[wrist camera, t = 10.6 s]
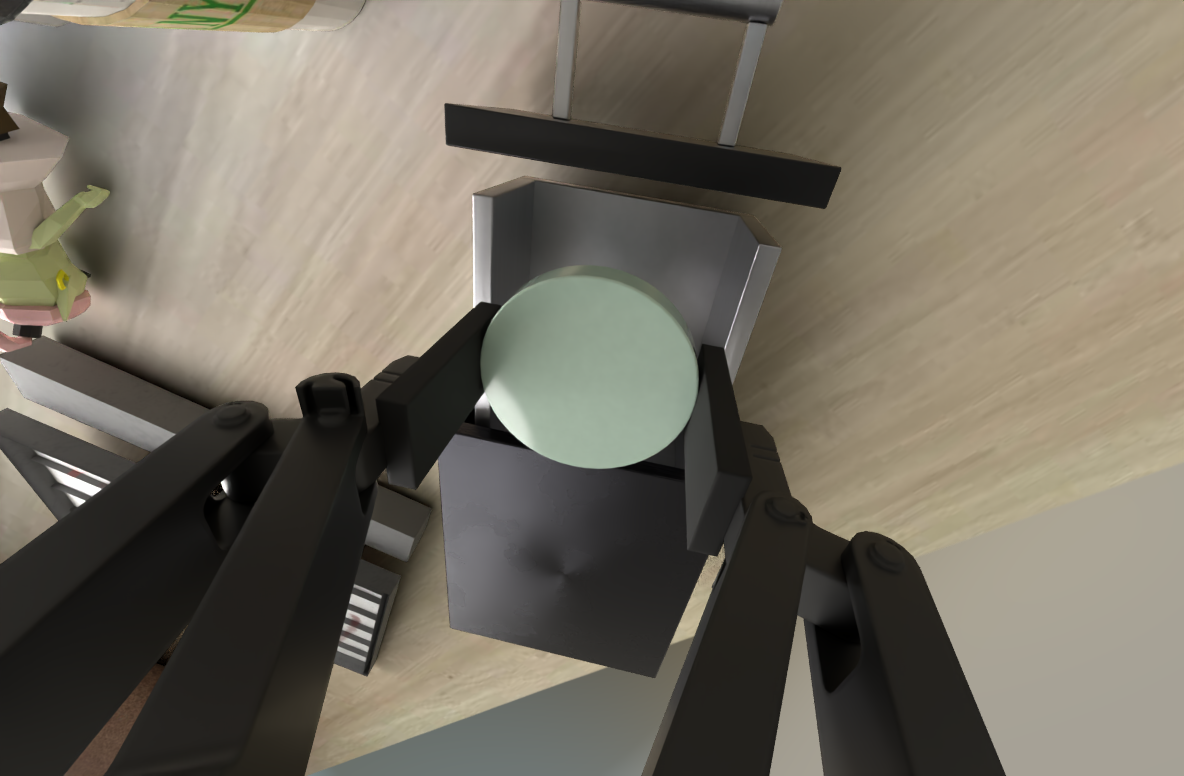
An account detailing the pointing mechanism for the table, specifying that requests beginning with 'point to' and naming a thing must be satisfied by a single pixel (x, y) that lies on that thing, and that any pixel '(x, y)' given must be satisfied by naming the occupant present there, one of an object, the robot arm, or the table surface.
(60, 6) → the coffee cup
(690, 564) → the cabinet
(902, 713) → the robot arm
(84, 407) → the shutter
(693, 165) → the drawer
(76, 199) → the figurine
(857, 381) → the table surface
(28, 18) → the jerry can
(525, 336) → the plate
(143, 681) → the sphere
